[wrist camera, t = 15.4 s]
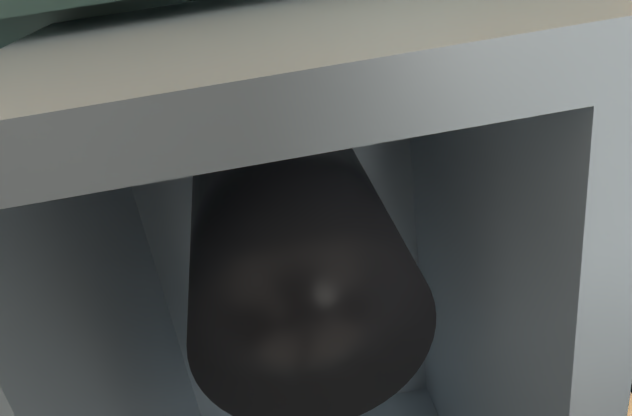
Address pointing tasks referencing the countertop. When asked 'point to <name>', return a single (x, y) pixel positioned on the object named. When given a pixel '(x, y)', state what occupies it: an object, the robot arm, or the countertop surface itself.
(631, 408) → the countertop surface
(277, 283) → the dark grey rounded piece
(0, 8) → the tray
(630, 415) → the countertop surface
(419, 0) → the toner caddy
